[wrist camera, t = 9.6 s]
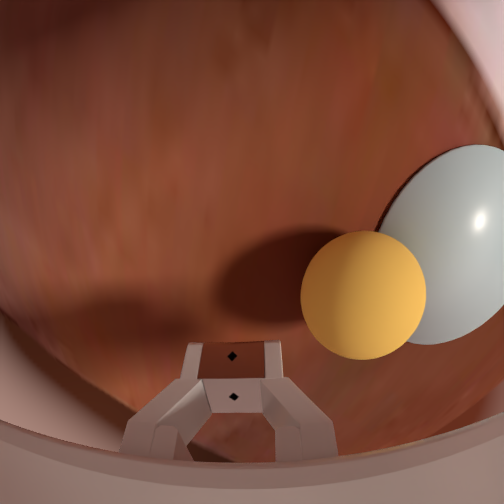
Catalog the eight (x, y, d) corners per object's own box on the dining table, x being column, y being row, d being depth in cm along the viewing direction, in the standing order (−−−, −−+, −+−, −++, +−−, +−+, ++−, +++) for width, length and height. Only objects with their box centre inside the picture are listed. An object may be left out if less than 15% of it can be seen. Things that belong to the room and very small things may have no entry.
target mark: (549, 157, 13) (551, 158, 12) (503, 325, 18) (505, 327, 18) (379, 134, 13) (381, 135, 13) (354, 355, 19) (355, 357, 18)
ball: (276, 249, 11) (324, 211, 16) (280, 368, 13) (322, 306, 18) (436, 273, 9) (434, 223, 13) (404, 397, 11) (417, 323, 15)
